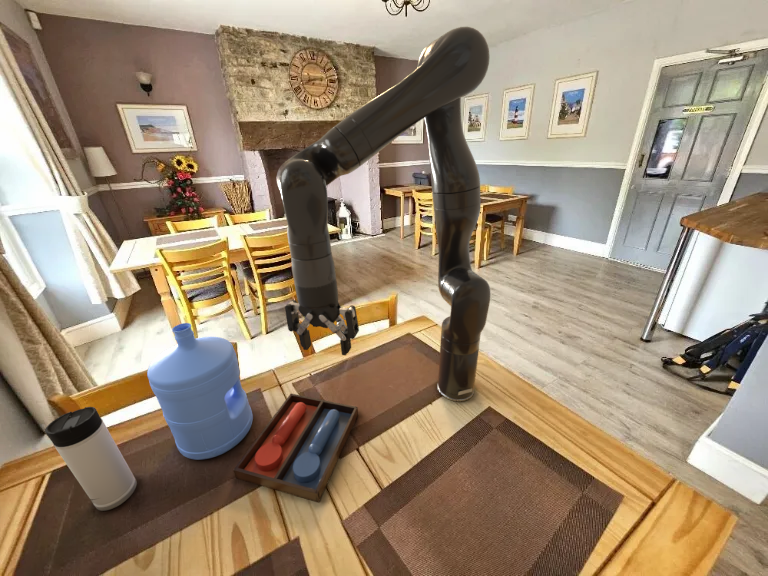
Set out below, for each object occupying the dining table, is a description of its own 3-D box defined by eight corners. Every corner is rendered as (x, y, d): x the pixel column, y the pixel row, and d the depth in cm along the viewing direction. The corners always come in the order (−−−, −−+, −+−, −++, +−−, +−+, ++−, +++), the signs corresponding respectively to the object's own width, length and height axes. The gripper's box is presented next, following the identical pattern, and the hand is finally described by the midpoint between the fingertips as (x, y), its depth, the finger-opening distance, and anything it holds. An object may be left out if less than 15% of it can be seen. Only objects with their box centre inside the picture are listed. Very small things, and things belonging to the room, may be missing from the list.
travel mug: (90, 520, 55) (34, 440, 46) (101, 487, 60) (52, 410, 52) (133, 502, 57) (87, 424, 49) (139, 472, 63) (99, 397, 54)
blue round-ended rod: (326, 413, 74) (325, 404, 73) (346, 417, 73) (345, 408, 72) (289, 479, 60) (286, 469, 59) (313, 485, 59) (311, 476, 57)
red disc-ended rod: (294, 406, 77) (292, 397, 76) (313, 410, 75) (312, 401, 74) (251, 468, 62) (248, 458, 61) (273, 474, 61) (271, 464, 60)
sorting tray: (292, 401, 79) (290, 393, 78) (358, 414, 75) (357, 406, 74) (236, 478, 61) (233, 469, 60) (318, 502, 56) (317, 493, 55)
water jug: (187, 477, 62) (136, 363, 50) (172, 429, 72) (127, 326, 61) (264, 432, 71) (236, 328, 59) (240, 395, 82) (213, 301, 70)
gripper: (358, 271, 58) (365, 344, 65) (291, 267, 62) (304, 336, 68) (343, 288, 51) (352, 367, 58) (269, 282, 55) (285, 356, 62)
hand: (326, 350), depth 63 cm, fingers open, 8 cm apart
